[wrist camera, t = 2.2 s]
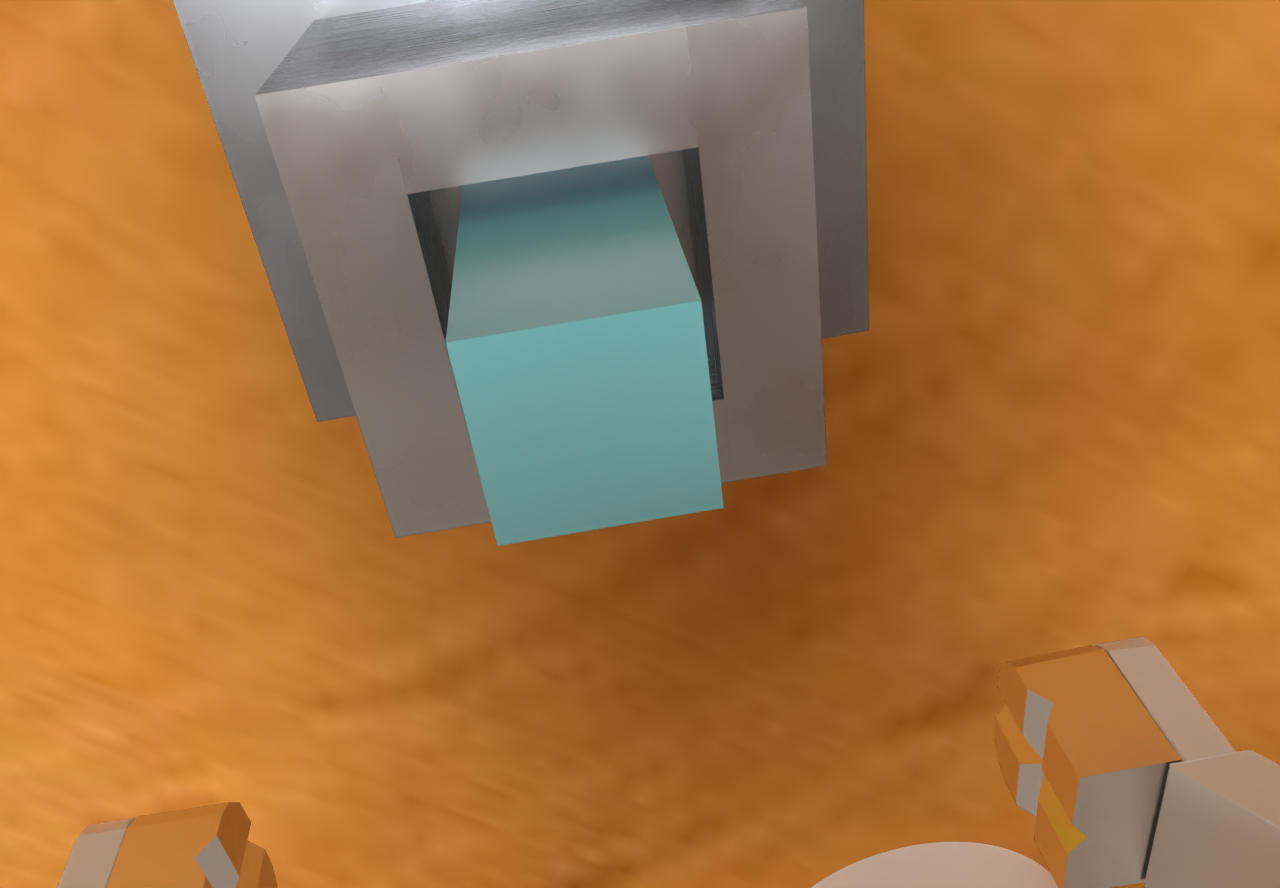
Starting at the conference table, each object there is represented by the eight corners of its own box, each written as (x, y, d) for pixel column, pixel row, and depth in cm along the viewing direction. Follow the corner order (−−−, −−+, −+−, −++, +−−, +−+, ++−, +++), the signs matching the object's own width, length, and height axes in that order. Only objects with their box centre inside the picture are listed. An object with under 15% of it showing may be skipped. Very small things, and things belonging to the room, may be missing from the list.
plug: (666, 314, 26) (723, 508, 19) (500, 341, 25) (497, 546, 19) (645, 148, 23) (701, 300, 17) (463, 178, 23) (445, 342, 17)
